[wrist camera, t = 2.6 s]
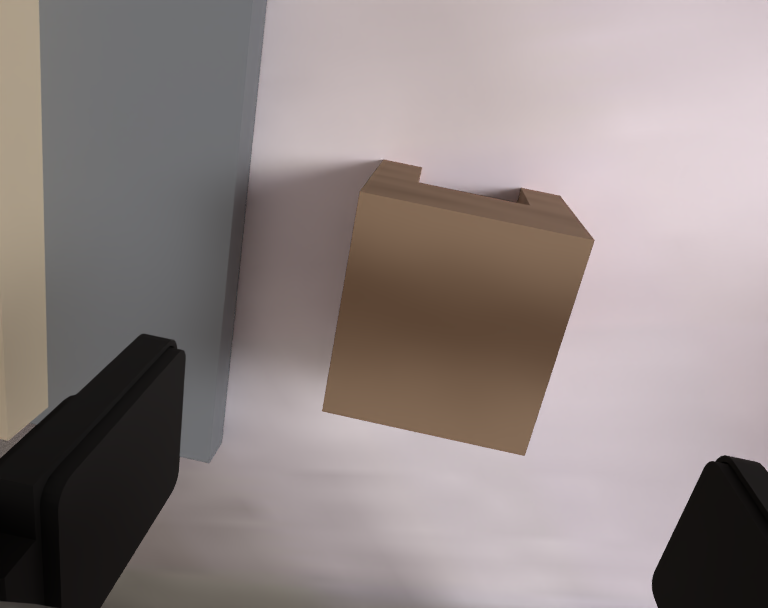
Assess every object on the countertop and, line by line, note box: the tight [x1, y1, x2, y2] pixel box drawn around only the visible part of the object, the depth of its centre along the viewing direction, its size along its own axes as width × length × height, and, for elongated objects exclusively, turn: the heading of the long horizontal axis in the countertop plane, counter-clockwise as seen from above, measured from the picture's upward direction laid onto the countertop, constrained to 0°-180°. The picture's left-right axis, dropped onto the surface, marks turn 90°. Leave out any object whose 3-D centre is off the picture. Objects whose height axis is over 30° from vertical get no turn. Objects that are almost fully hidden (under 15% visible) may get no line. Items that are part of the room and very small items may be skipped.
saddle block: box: [322, 160, 594, 456], centre depth 21 cm, size 7×6×6 cm
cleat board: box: [0, 0, 267, 463], centre depth 22 cm, size 20×16×4 cm
